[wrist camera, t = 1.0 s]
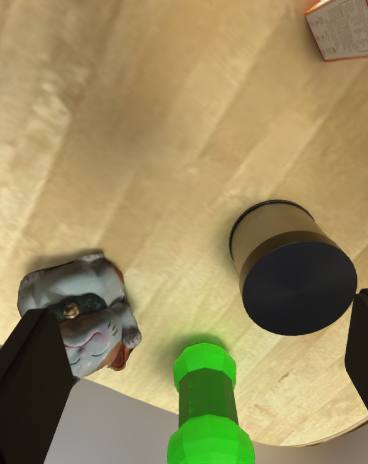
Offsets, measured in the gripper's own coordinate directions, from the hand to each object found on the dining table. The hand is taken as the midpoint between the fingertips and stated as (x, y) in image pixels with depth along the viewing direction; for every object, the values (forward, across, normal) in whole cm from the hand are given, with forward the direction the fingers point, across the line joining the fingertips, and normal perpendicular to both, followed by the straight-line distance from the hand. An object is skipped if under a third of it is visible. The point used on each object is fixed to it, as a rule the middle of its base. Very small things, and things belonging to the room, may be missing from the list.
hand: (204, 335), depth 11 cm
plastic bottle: (+34, 0, +34) cm, 48 cm away
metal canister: (+34, -10, +14) cm, 38 cm away
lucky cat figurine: (+34, +16, +20) cm, 43 cm away
